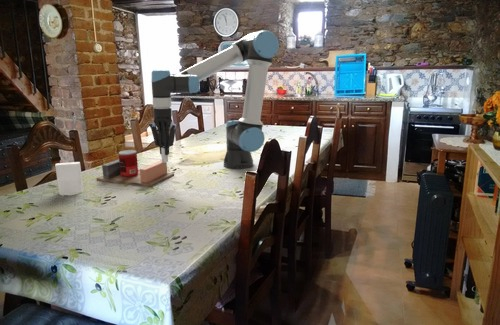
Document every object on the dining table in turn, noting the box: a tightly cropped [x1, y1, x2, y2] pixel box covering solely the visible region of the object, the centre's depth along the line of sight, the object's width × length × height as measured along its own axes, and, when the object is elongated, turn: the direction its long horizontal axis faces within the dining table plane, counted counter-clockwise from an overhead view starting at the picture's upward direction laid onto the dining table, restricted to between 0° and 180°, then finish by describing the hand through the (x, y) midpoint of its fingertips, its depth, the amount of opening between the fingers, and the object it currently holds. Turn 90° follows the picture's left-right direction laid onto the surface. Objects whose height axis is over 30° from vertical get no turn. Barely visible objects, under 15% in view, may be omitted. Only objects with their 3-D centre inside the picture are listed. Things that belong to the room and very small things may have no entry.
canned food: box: [118, 149, 139, 177], centre depth 170 cm, size 8×8×11 cm
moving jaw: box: [139, 159, 168, 183], centre depth 166 cm, size 3×16×6 cm, turn 160°
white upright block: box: [54, 161, 84, 196], centre depth 151 cm, size 9×9×12 cm
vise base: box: [96, 159, 175, 188], centre depth 170 cm, size 29×18×7 cm, turn 70°
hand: (165, 161), depth 163 cm, fingers closed
